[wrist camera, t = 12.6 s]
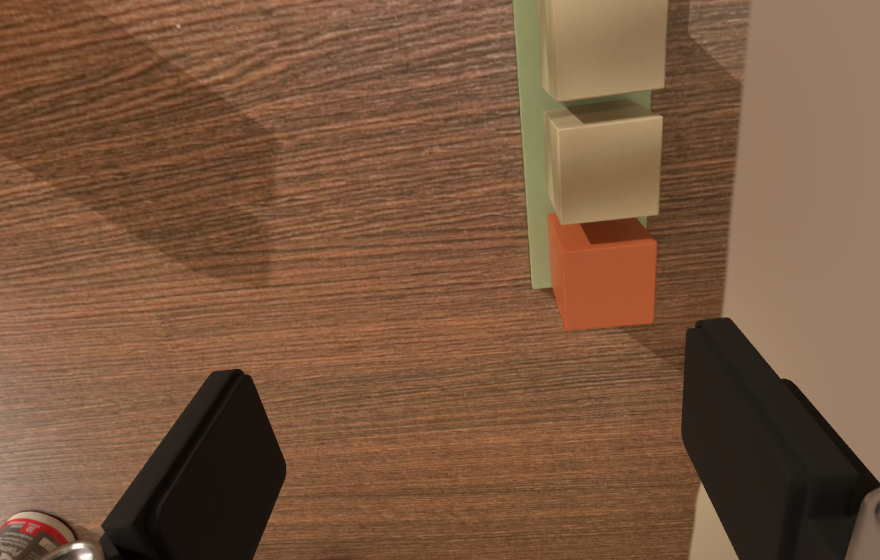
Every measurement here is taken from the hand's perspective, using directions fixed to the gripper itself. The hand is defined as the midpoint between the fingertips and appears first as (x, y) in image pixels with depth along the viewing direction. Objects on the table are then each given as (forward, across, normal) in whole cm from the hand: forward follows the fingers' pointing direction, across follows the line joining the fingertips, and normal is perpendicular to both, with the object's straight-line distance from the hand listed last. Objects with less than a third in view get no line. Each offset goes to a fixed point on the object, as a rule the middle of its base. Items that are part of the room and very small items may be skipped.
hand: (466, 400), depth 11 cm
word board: (+18, -6, -1) cm, 19 cm away
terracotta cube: (+17, -6, +5) cm, 19 cm away
